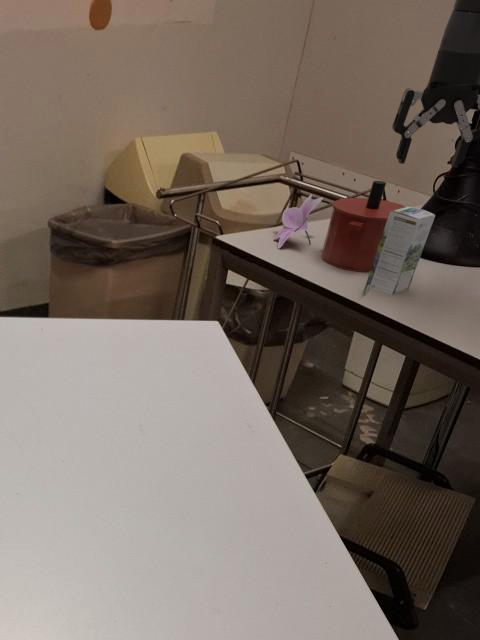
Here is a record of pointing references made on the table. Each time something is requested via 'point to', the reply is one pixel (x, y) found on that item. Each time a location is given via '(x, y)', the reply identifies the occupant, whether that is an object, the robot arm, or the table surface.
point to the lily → (296, 220)
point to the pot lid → (368, 205)
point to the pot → (352, 242)
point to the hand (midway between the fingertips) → (427, 164)
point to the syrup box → (399, 250)
